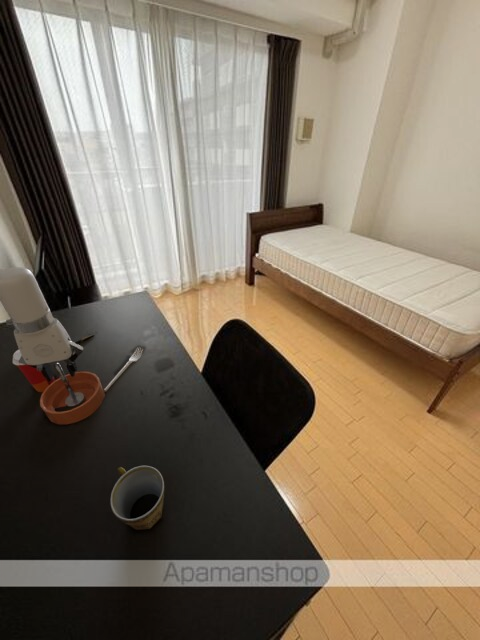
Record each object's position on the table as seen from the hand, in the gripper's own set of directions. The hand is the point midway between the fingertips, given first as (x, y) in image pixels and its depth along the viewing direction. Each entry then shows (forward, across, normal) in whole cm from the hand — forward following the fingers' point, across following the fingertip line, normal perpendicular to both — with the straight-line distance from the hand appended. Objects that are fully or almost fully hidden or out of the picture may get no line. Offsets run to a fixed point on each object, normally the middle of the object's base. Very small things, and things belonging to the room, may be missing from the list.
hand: (62, 374), depth 76 cm
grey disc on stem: (+12, 0, 0) cm, 12 cm away
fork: (+13, +13, +11) cm, 21 cm away
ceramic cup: (+13, +18, -34) cm, 41 cm away
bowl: (+13, 0, 0) cm, 13 cm away
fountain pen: (+13, -5, +30) cm, 33 cm away
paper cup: (+13, -11, +11) cm, 20 cm away
